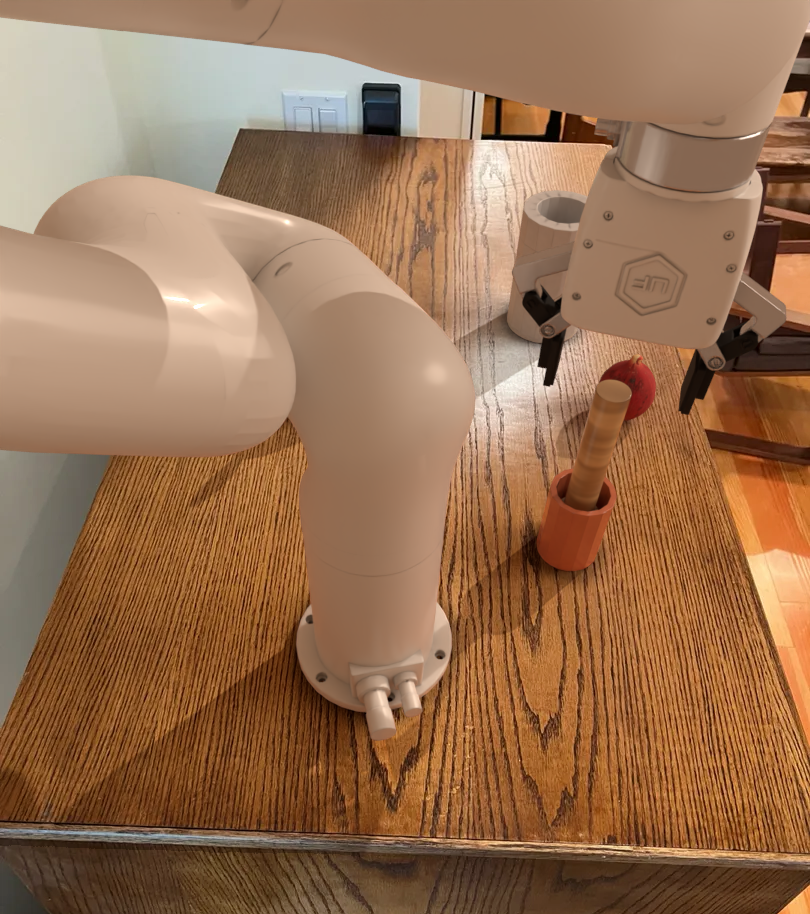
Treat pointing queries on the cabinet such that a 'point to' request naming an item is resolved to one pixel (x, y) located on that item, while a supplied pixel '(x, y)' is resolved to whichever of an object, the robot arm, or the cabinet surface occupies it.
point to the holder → (573, 526)
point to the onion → (634, 384)
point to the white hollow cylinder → (543, 228)
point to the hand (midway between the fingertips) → (616, 388)
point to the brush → (597, 444)
